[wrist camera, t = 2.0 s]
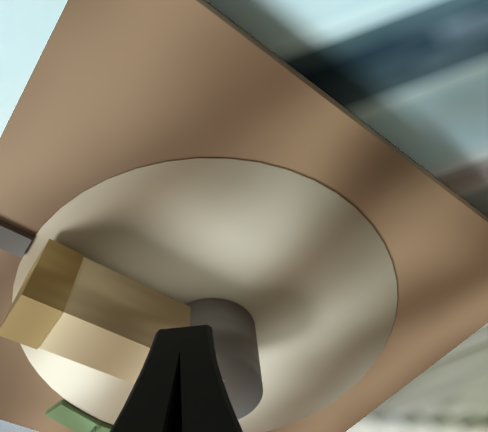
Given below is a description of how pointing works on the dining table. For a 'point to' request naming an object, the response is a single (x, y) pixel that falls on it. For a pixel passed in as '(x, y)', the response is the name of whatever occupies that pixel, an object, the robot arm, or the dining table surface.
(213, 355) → the robot arm
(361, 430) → the dining table surface
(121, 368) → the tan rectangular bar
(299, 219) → the board
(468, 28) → the dining table surface
